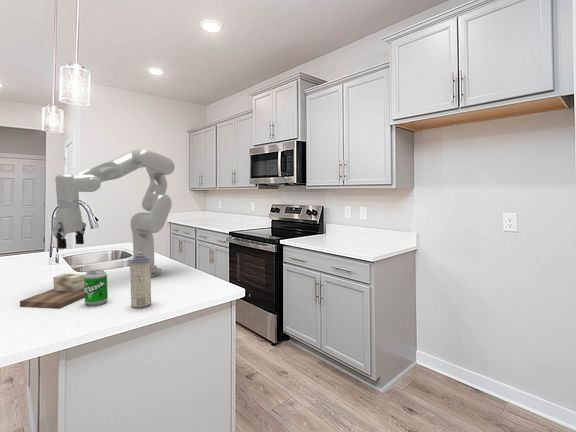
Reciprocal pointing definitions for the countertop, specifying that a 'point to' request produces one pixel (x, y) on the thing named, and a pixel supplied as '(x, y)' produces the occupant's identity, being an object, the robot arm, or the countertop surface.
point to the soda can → (95, 287)
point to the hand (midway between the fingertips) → (71, 246)
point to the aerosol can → (140, 281)
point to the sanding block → (69, 283)
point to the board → (52, 299)
